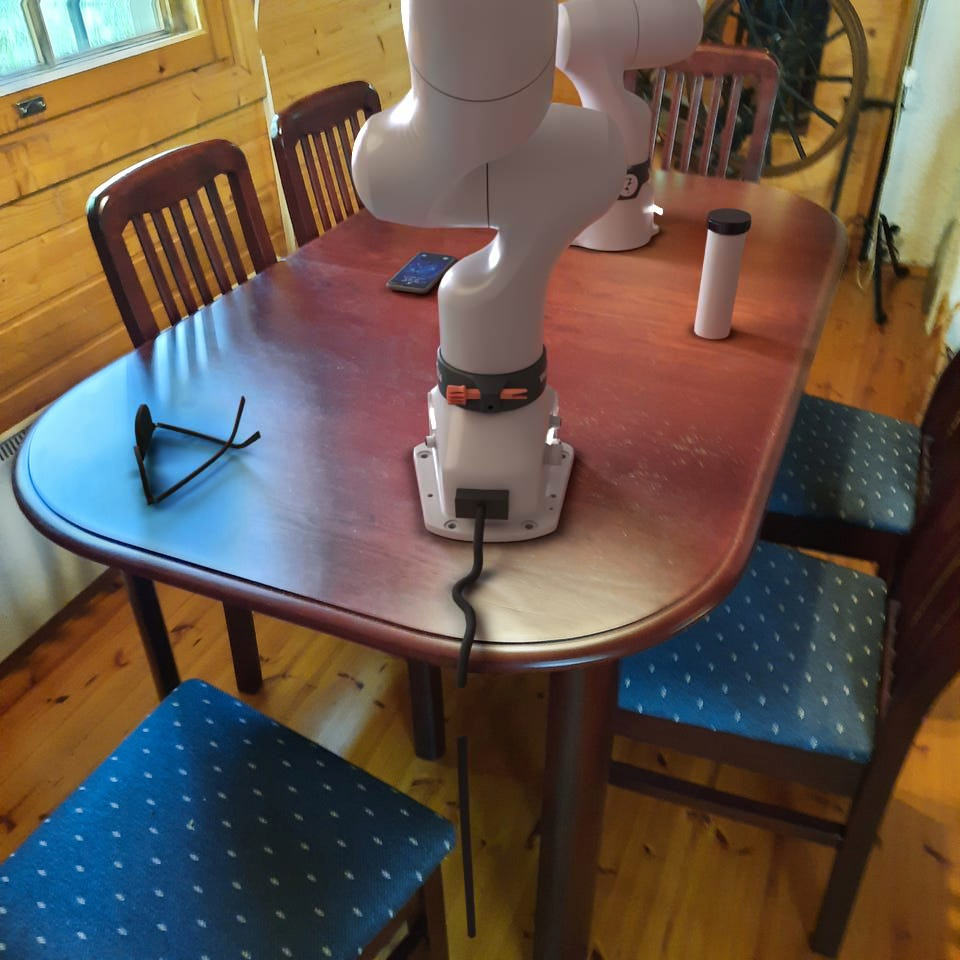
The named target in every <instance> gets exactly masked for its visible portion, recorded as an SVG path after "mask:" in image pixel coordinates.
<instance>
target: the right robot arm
mask: <svg viewBox="0 0 960 960" xmlns="http://www.w3.org/2000/svg"><path fill="white" fill-rule="evenodd" d="M558 6H559V16H558V36H557V49H556V63H555V68H557V69H558V70H559V71H561V72H562V73H563V74H564V75H565V76H566V77H567V78H568V79H569V81H571V82H572V85H574V87H575V89H576V91H577V93H578V96H579V98H580V102H581V105H582V107H585V108H589V109H594V110H598V111H603V112H606V113H607V114H608V115H609V116H610V117H611V118H612V119H613V121H614V122H615V123H616V125H617V127H618V128H619V130H620V132H621V134H622V137H623V139H624V142H625V146H626V151H627V173H626V179H625V183H624V186H623V189H622V191H621V193H620V195H619V197H618V199H617V201H616V202H615V204H614V205H613V207H612V208H611V209H610V210H609V211H608V212H607V213H606V214H605V215H604V216H603V217H602V218H600V219H599V220H597V221H596V222H594V223H593V224H591V225H590V226H589V227H588V228H586V229H585V230H584V231H583V232H582V233H581V234H580V235H579V236H578V237H577V238H576V239H575V240H574V241H573V242H572V243H571V244H570V246H579V247H583V248H587V249H591V250H595V251H608V252H612V251H613V252H616V251H617V252H619V251H628V250H633V249H637V248H640V247H642V246H645V245H647V244H648V243H649V241H651V238H652V236H655V235H657V234H658V233H659V232H660V229H659V228H660V226H659V224H656V223H654V212H655V213H657V214H658V215H660V216H662V215H663V208H660V206H659V207H658V206H657V205H655V188H654V187H653V186H652V185H651V184H650V183H649V179H650V172H651V169H652V168H651V167H652V166H651V157H650V156H649V155H650V154H649V153H650V143H651V142H650V141H651V130H652V120H653V116H652V111H651V109H650V107H649V104H648V103H647V102H646V101H645V100H644V99H643V98H642V97H640V96H638V95H637V94H635V93H634V92H631V91H630V90H628V89H626V87H625V85H624V72H626V71H631V70H643V69H644V70H645V69H655V68H656V69H657V68H664V67H667V66H670V65H671V66H672V65H674V64H676V63H680V62H683V61H685V60H688V59H690V58H691V57H692V56H693V55H694V53H695V52H696V50H697V48H698V47H699V45H700V43H701V41H702V37H703V31H704V16H703V12H702V9H701V6H700V3H699V2H698V1H697V0H565V1H563V2H560V3H558Z"/></svg>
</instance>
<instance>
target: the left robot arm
mask: <svg viewBox="0 0 960 960" xmlns="http://www.w3.org/2000/svg"><path fill="white" fill-rule="evenodd" d="M400 4H401V6H400V7H401V19H402V27H403V33H404V40H405V45H406V51H407V56H408V57H407V58H408V62H409V69H410V77H411V79H410V81H411V88H410V90H408V92H407V93H406V94H405V95H404V96H403V97H402V98H401V99H400V100H399V101H397V102H395V103H394V104H393V105H391V106H389V107H388V108H385V109H383V110H382V111H379V112H377V113H374V114H372V115H370V116H369V118H368V119H366V121H365V122H364V124H363V125H362V127H361V129H360V130H359V132H358V134H357V137H356V138H355V141H354V144H353V149H352V154H351V176H352V180H353V184H354V187H355V190H356V193H357V195H358V197H359V199H360V201H361V202H362V204H363V205H364V207H365V208H366V210H367V211H368V212H369V213H370V214H371V215H372V216H373V217H374V218H375V219H377V220H379V221H383V222H388V223H392V224H397V225H403V226H409V227H413V228H419V229H484V228H485V229H486V228H487V229H488V228H489V229H494V230H496V231H497V233H496V235H495V237H494V238H493V239H492V240H491V241H490V242H489V243H488V244H487V245H486V246H484V247H482V248H481V249H479V250H477V251H474V252H473V253H471V254H468V255H466V256H465V257H463V258H462V259H461V258H460V260H458V261H456V262H455V263H454V264H453V265H452V266H451V267H450V269H449V270H448V271H447V272H446V273H445V274H444V275H443V276H442V278H441V281H440V283H439V286H438V290H437V307H438V324H439V326H438V327H439V340H440V341H439V342H440V345H439V346H438V348H437V354H436V356H437V358H436V363H435V364H436V376H437V384H436V385H435V387H434V386H433V388H432V389H431V390H430V391H428V392H427V406H428V407H427V409H428V424H429V435H426V436H425V438H424V442H422V443H419V444H417V445H416V446H415V447H414V448H413V454H412V455H413V457H412V458H413V464H414V470H415V475H416V476H415V477H416V480H417V487H418V492H419V498H420V499H419V500H420V503H421V504H420V505H421V510H422V516H423V522H424V526H425V529H426V530H427V531H428V532H429V533H432V534H434V535H437V536H440V537H443V538H448V539H452V540H457V541H466V542H472V554H473V557H472V558H473V563H472V568H471V570H470V572H469V573H468V574H467V575H466V576H464V577H462V578H461V579H459V580H458V581H457V582H456V583H455V584H453V586H452V590H451V597H452V601H453V602H454V603H455V605H456V606H457V607H458V608H459V609H460V610H461V611H462V612H463V615H464V617H465V629H464V630H465V631H464V634H463V636H462V637H463V638H462V641H461V644H460V648H459V653H458V657H457V663H456V664H457V666H456V675H455V676H456V678H455V686H456V687H457V688H459V689H464V688H465V687H467V685H468V671H469V670H468V669H469V662H470V656H471V651H472V647H473V644H474V641H475V638H476V633H477V632H476V631H477V615H476V611H475V609H474V607H473V606H472V605H471V603H470V602H469V601H467V599H466V598H465V597H464V595H463V591H464V590H465V589H466V588H468V587H469V586H471V585H472V584H475V582H476V581H477V580H478V579H479V577H480V576H481V574H482V571H483V567H484V543H500V542H501V543H502V542H503V543H506V542H518V541H527V540H531V539H536V538H539V537H543V536H546V535H548V534H550V533H552V532H554V531H556V530H557V527H558V525H559V520H560V518H561V517H560V516H561V512H562V508H563V504H564V500H565V497H566V492H567V488H568V483H569V480H570V476H571V472H572V469H573V468H572V467H573V464H574V459H575V450H574V447H573V446H571V445H570V444H568V443H566V442H563V441H561V439H560V438H558V430H560V429H561V428H562V416H559V392H557V391H556V390H555V389H554V388H553V387H552V386H551V385H550V384H549V383H548V382H547V379H548V367H549V361H548V356H547V355H548V354H547V353H548V351H547V347H546V345H545V344H544V332H545V331H544V330H545V329H544V328H545V316H546V307H547V298H548V292H549V287H550V282H551V279H552V276H553V274H554V272H555V269H556V267H557V265H558V264H559V262H560V261H561V259H562V257H563V256H564V254H565V252H566V251H567V249H568V248H569V247H570V246H571V245H570V244H571V243H572V242H573V241H574V240H575V239H576V238H577V237H578V236H579V235H580V234H581V233H582V232H583V231H584V230H585V229H586V228H588V227H589V226H590V225H591V224H593V223H594V222H596V221H597V220H599V219H600V218H602V217H603V216H604V215H605V214H606V213H607V212H608V211H609V210H610V209H611V208H612V207H613V205H614V204H615V202H616V201H617V199H618V197H619V195H620V193H621V191H622V189H623V186H624V183H625V179H626V173H627V151H626V146H625V142H624V139H623V137H622V134H621V132H620V130H619V128H618V127H617V125H616V123H615V122H614V121H613V119H612V118H611V117H610V116H609V115H608V114H607V113H606V112H603V111H598V110H594V109H589V108H585V107H583V106H580V105H574V104H568V103H562V102H552V101H553V96H554V89H555V77H556V76H555V75H556V66H555V63H556V49H557V36H558V16H559V6H558V4H559V0H400ZM468 752H469V751H468V735H463V736H460V737H457V738H456V755H457V756H456V759H457V761H456V762H457V763H456V764H457V788H458V789H457V790H458V809H459V825H460V842H461V856H462V867H463V868H462V870H463V884H464V898H465V899H464V900H465V914H466V915H465V916H466V931H467V936H468V938H469V939H475V937H476V936H477V928H476V924H477V923H476V908H475V907H476V906H475V888H474V887H475V886H474V871H473V870H474V869H473V852H472V834H471V817H470V816H471V814H470V813H471V812H470V793H469V792H470V791H469V790H470V789H469V760H468V758H469V756H468V755H469V753H468Z"/></svg>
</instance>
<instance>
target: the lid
mask: <svg viewBox="0 0 960 960" xmlns="http://www.w3.org/2000/svg"><path fill="white" fill-rule="evenodd" d="M752 222H753V221H752V214H750V213H749V212H748V211H746V210H743V209H738V208H731V207H726V208H725V207H721V208H716V209H712V210H710V211H708V214H707V216H706V223H705V227H706V229H707V230H708V229H709V230H710V231H712V232H715V233H719V234H725V235H738V234H743V233H746V234H747V233H748V232H749V231H750V229H751V227H752Z"/></svg>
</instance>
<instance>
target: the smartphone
mask: <svg viewBox="0 0 960 960" xmlns="http://www.w3.org/2000/svg"><path fill="white" fill-rule="evenodd" d="M456 263H457V257H456V255H451V254H445V253H444V254H443V253H436V252H428V251H420V252H417V253H416V254H415V255H414V257H412V258H411V259H410V260H409V261H408V262H407V263H406V264H405V265H404V266H403V267H402V268H401V269H400V270H399V271H398V272H397V273H396V274H395V275H394V276H392V278H390V279H389V280H388V281H387V283H386V289H389V290H392V291H399V292H405V293H413V294H419V295H424V294H427V293H428V292H429V291H430V290H432V288H433V287H434V286H435V285H436V284H437V283H438V282H439V281H440V280H441V279H442V278H443V277H444V275H445V274H446V273H447V271H448V270H449V269H450V268H451V267H452V266H453V265H455V264H456Z"/></svg>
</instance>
